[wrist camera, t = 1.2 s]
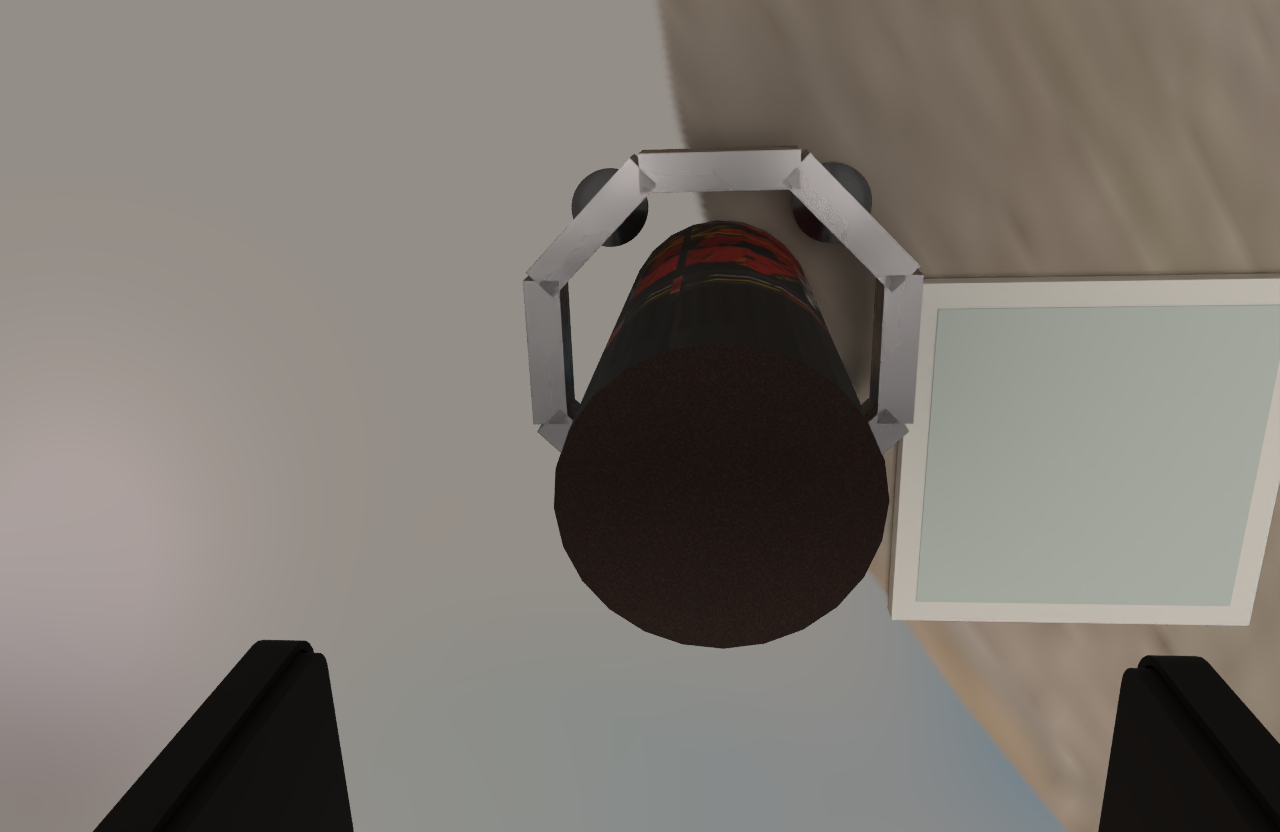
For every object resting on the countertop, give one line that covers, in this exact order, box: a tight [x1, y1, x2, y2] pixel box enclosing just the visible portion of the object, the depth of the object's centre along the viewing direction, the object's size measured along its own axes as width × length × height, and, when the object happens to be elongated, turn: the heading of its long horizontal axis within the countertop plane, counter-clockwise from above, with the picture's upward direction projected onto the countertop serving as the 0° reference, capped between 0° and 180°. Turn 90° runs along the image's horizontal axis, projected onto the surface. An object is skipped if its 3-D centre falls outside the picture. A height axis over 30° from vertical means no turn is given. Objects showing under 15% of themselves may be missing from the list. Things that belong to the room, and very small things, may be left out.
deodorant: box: [554, 221, 889, 649], centre depth 24 cm, size 6×6×15 cm
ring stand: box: [523, 146, 924, 455], centre depth 28 cm, size 11×11×5 cm
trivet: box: [888, 273, 1280, 626], centre depth 31 cm, size 12×12×1 cm
